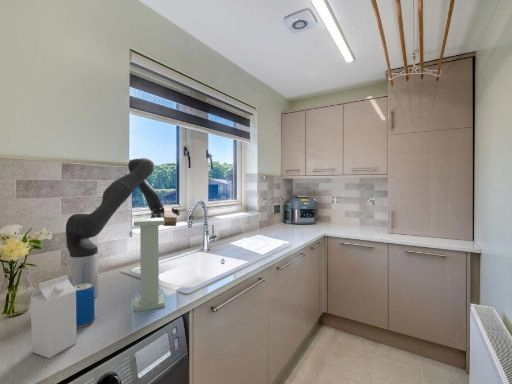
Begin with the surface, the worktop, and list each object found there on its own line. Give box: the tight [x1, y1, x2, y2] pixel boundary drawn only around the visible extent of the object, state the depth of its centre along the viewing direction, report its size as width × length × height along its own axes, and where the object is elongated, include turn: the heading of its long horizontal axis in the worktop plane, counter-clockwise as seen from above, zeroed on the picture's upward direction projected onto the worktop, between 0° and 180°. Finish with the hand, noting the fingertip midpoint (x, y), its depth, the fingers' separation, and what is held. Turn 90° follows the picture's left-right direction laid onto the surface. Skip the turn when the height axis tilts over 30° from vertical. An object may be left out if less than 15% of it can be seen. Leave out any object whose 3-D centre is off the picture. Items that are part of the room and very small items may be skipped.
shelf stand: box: [133, 217, 166, 312], centre depth 95 cm, size 9×10×32 cm
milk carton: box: [30, 274, 77, 359], centre depth 70 cm, size 7×7×19 cm
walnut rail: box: [162, 205, 178, 227], centre depth 115 cm, size 16×5×4 cm, turn 24°
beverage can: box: [74, 283, 96, 328], centre depth 82 cm, size 6×6×12 cm
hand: (168, 210), depth 117 cm, fingers closed on walnut rail, 3 cm apart
